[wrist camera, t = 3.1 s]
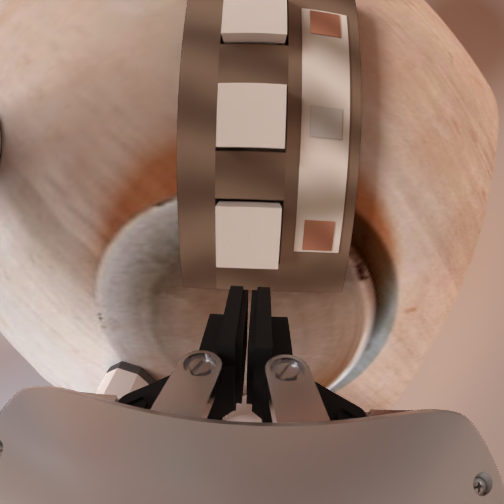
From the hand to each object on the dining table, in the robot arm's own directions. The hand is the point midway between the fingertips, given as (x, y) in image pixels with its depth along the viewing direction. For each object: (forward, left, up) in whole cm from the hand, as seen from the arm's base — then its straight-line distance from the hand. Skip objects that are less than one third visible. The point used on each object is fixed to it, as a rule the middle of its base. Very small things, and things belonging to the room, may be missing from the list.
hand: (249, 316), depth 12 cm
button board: (+7, +6, -15) cm, 18 cm away
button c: (+13, +14, -13) cm, 23 cm away
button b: (+6, +7, -13) cm, 16 cm away
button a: (0, 0, -13) cm, 13 cm away
